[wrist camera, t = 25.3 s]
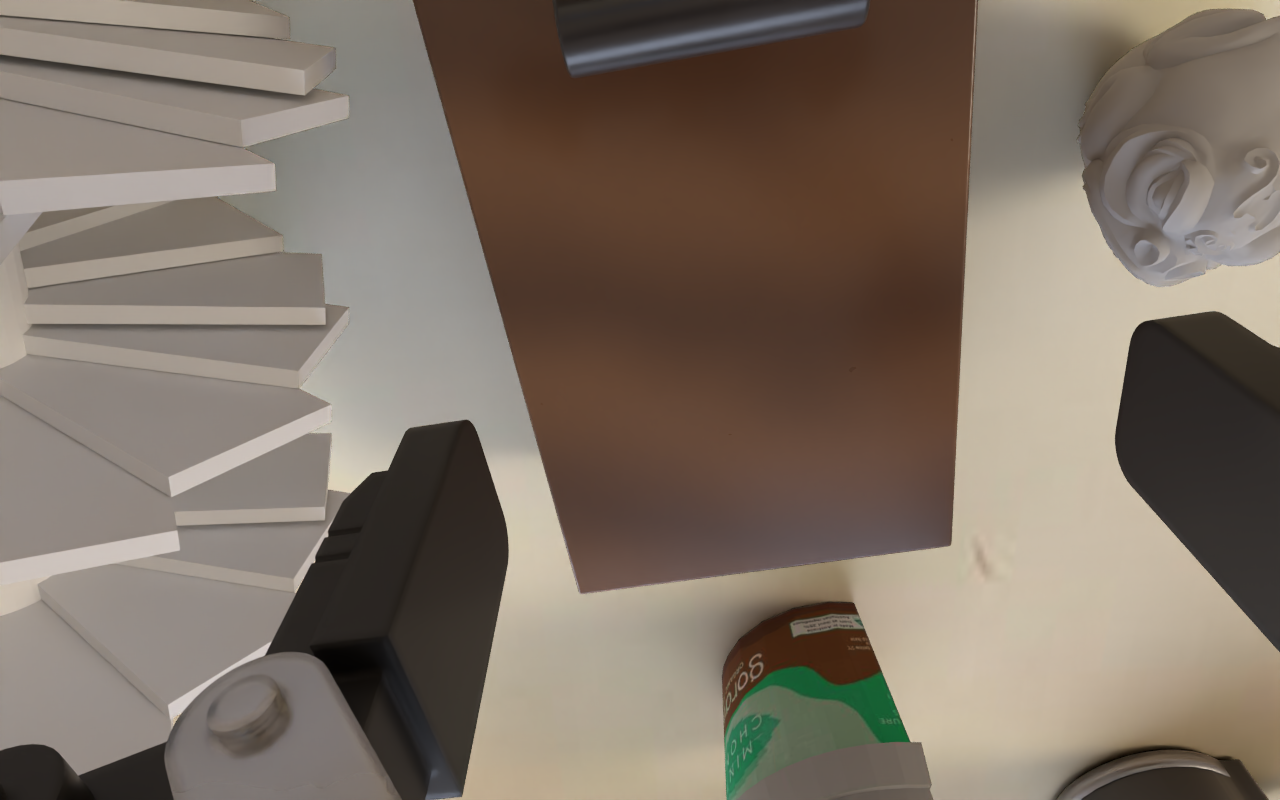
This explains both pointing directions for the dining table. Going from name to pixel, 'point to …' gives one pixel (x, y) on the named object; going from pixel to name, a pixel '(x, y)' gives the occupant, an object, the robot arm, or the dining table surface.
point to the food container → (815, 714)
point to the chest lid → (724, 266)
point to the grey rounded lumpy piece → (1189, 148)
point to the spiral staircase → (150, 362)
